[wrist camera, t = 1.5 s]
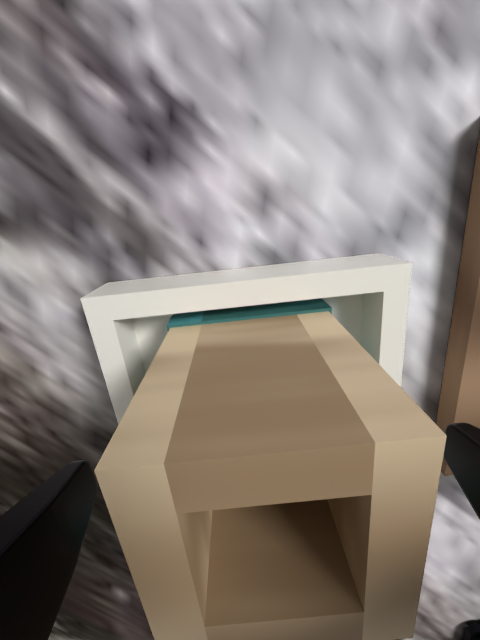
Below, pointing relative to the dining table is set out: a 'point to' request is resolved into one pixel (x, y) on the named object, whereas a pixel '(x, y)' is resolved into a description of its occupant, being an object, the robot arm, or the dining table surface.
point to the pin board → (464, 329)
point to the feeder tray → (246, 290)
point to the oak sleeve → (272, 481)
